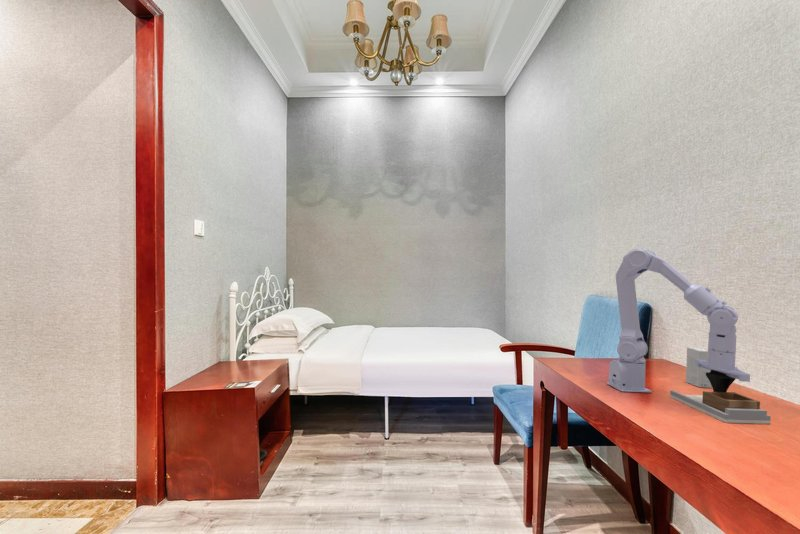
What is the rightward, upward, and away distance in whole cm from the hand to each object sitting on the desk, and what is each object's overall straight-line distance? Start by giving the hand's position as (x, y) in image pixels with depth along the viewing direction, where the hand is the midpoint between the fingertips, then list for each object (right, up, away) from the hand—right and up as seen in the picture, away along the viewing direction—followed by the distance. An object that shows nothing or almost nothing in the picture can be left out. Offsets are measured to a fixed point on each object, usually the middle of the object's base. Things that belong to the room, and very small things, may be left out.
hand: (719, 399), depth 101 cm
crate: (-1, -2, -4) cm, 5 cm away
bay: (-1, -3, 0) cm, 3 cm away
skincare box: (+12, -3, +22) cm, 26 cm away
